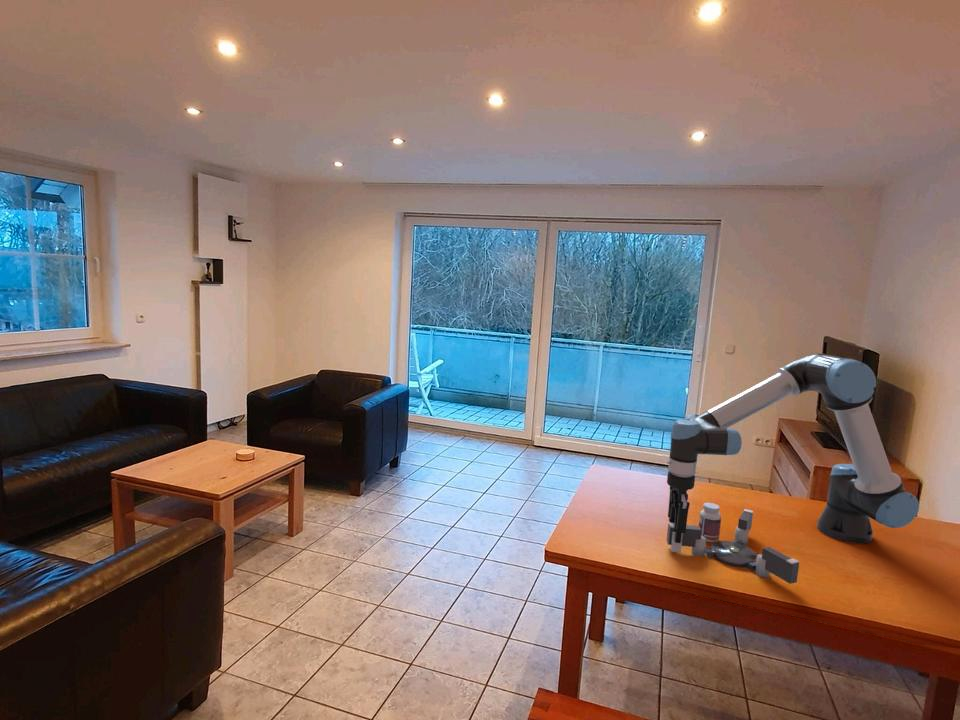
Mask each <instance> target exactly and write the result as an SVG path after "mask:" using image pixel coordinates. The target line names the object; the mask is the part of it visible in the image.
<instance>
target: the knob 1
mask: <svg viewBox="0 0 960 720" xmlns="http://www.w3.org/2000/svg"><path fill="white" fill-rule="evenodd" d="M753 515H754V510H750V509H748V508H744V509H743V511H742V514H741V515H740V516H739V518H738V525H737V526H735V529H734V531H735V532H734V538H733V539H734V540H733V541H737V542H741V543H744V544H745V546H747V545H748V539H749V538H748V537H749V532H750V531H751V529H752V523H753ZM747 547H748V546H747Z"/></svg>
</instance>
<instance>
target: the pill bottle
mask: <svg viewBox="0 0 960 720" xmlns="http://www.w3.org/2000/svg"><path fill="white" fill-rule="evenodd" d="M721 522H722V514H721V513H720V505H718V504H716V503H713V502H704V503H703V505H702V510H701V511H700V512H699V521H698V526H700V528H701V529H702V533H701V536H704V537H705V538H706V543H711V544H713V543H714V542H716V541H720V533H721V532H720V531H721V524H722V523H721Z"/></svg>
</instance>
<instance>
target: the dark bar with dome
mask: <svg viewBox="0 0 960 720" xmlns="http://www.w3.org/2000/svg"><path fill="white" fill-rule="evenodd" d="M671 529H674V523H671V522H668V525H667V533H666V542H667V545H668V546H671V543H672V533H673V532H672V530H671ZM701 533H702V529H701V528H700V526H699V525H689V524H686V533H683V536H682V546H681V547H689V548H691V554H692V555H693V556H696V557H705V555H706V554H705V547H706V544H707V542H706V538H705V537H704V536H701Z"/></svg>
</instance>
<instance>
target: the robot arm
mask: <svg viewBox="0 0 960 720" xmlns="http://www.w3.org/2000/svg"><path fill="white" fill-rule="evenodd" d="M875 375H876V374H875V373H874V371H873V370H872V369H871V368H870V367H869V365H867V364H866V363H864V362H862V361H859V360H856V359H854V358H851V357H850V358H848V357H840V356H836V355H831V354H828V353H827V354H826V353H813V354H808V355H805V356H803V357H800V358H797V359H796V360H794V361H791V362H789V363H787V364H785V365H783V366H781V367H780V368H778V369H777V370H776V373H775V374H774V375H772V376H770V377H768V378H765V379H764V380H762V381H760V382H759V383H757V384H755V385H753V386H751V387H749V388H747V389H746V390H744V391H741V392H740V393H738V394H736V395H734V396H733V397H731V398H729V399H727V400H725V401H723V402H721V403H719V404H717V405H715V406H714V407H711V408H710V409H708V410H707V411H704V412H702V413H700V414H695V413H694V414H688V415H686V416H685V417H684V418H682V419H677V420H675V421H674V422H673V425H672V428H671V434H670V446H669V447H670V450H669V460H667V462H666V463H667V464H668V472H667V477H666V483H667V485H668V486H669V499H668V500H669V501H668V510H667V511H668V512H667V518H669V519H668V523H674V529H671V530H672V532H673V533H672V543H671V545H670V546H671V547H670V552H671V553H681V552H682V547H683V546H682V536H683V533H686V525H688V523H687V522H688V515H689V509H690V505H691V504H690V502H689V501H688V500H689V494H688V492H687V491H689V490H693V489H694V487H695V484H696V483H695V480H696V476H695V475H696V474H697V464H698V455H709V456H711V455H717V456H718V455H719V456H720V455H721V456H735V455H737V454H739V453H740V451H741V449H742V436H741V434H740V433H739V431H738V430H737V429H732V428H730V427H732V426H734V425H737V424H738V423H740V422H741V421H744V420H745V419H747V418H750V417H751V416H753V415H755V414H758V413H759V412H760V411H761V412H762V410H765V409H766V408H768V407H770V406H772V405H774V404H775V403H778V402H780V401H781V400H784V399H785V398H787V397H789V396H799V395H800V394H803V393H805V392H810V391H811V392H817V393H819V394H821V396H822V400H823V402H824V404H825V407H826V408H827V409H828V410H831V411H832V412H833V413H834V416H835V418H836V420H837V424H838V426H839V429H840V432H841V434H842V437H843V440H844V442H845V445H846V448H847V451H848V454H849V456H850V459H851V462H852V464H851V463H836V464H834V465H833V466H832V468H831V472H830V474H829V484H828V491H827V500H826V505H825V507H824V509H823V510H822V513H821V514H820V516H819V518H818V519H817V523H816V527H817V529H818V530H819V531H820V532H821V533H823V534H824V535H826V536H828V537H831V538H832V539H836V540H839V541H843V542H847V543H851V544H852V543H853V544H861V545H863V544H868V543H871V542H872V541H873V535H874V532H873V528H872V524H871V523H872V522H871V520H870V518H871V519H872V520H874V521H876V522H877V523H879V524H880V525H884V526H886V527H887V528H891V529H899V528H903V527H906V526H908V525H909V524H910V523H912V522H913V521H914V519H915V517H916V516H917V515H918V513H919V510H920V505H919V504H920V503H919V500H918V499H917V497H916V496H915V495H914V494H913V493H911V492H907V491H906V489H905V486H904V483H903V480H902V478H901V477H900V476H899V474H897V473H895V472H893V471H892V468H891V466H890V462H889V459H888V457H887V455H886V451H885V448H884V445H883V443H882V440H881V436H880V434H879V432H878V427H877V426H876V423H875V419H874V417H873V414H872V412H871V408H870V405H869V404H870V403H872V400H873V395H874V393H875V390H874V389H875V388H876V387H877V378H876V376H875Z"/></svg>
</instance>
